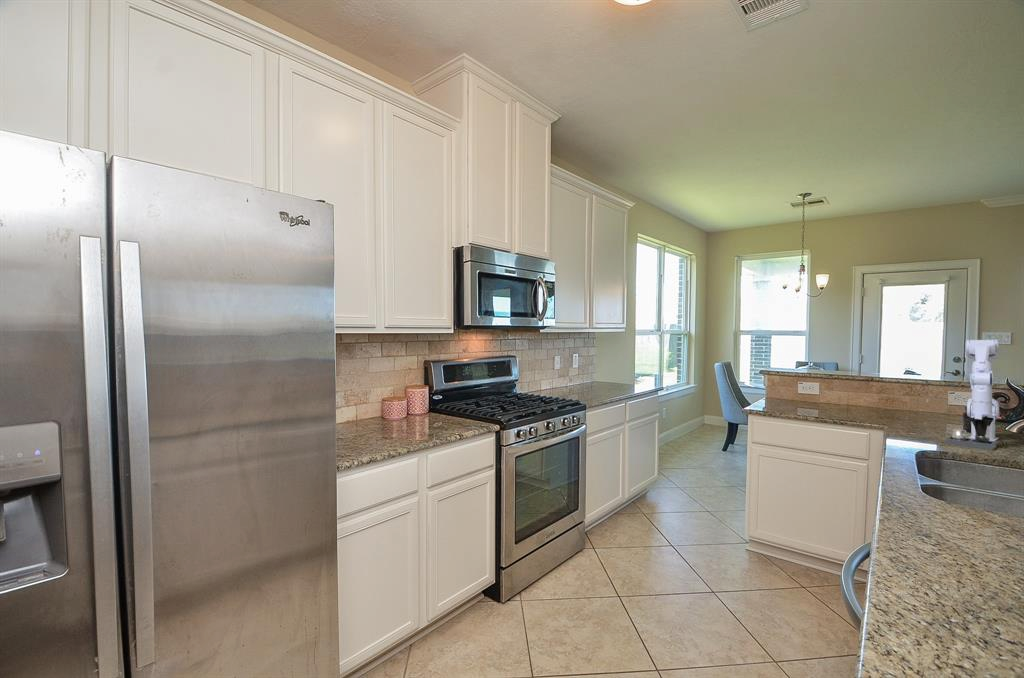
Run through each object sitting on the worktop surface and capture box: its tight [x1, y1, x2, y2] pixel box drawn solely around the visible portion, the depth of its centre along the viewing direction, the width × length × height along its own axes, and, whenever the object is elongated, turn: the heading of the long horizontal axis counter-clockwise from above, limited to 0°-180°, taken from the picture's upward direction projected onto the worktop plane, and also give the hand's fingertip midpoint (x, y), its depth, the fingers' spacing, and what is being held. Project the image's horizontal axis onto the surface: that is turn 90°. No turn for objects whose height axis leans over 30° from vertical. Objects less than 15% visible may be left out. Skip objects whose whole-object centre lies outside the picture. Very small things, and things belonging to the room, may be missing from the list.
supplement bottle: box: [962, 406, 971, 434], centre depth 212 cm, size 7×7×12 cm
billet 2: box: [975, 425, 990, 441], centre depth 180 cm, size 4×4×6 cm
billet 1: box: [952, 428, 967, 441], centre depth 185 cm, size 4×4×6 cm
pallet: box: [945, 435, 997, 451], centre depth 183 cm, size 9×13×2 cm
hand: (982, 435), depth 180 cm, fingers closed on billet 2, 4 cm apart
